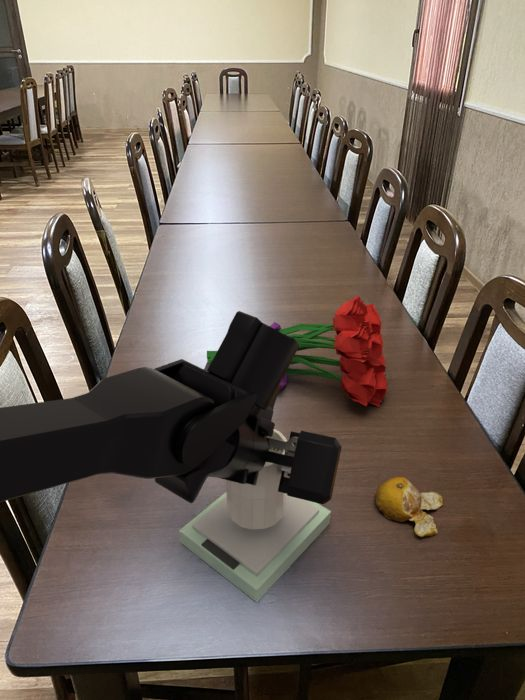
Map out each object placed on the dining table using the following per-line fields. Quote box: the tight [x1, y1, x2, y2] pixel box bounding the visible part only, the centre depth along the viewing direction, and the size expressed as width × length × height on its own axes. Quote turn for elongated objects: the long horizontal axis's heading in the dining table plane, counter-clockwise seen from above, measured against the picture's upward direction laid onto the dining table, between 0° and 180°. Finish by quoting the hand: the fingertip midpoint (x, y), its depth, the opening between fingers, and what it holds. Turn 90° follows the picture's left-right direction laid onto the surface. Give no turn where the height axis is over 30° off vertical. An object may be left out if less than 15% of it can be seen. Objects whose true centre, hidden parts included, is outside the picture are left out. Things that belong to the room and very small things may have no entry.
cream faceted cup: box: [225, 428, 288, 530], centre depth 61 cm, size 7×7×10 cm
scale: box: [179, 491, 332, 603], centre depth 65 cm, size 14×12×3 cm
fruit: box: [373, 476, 444, 538], centre depth 68 cm, size 8×8×4 cm
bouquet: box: [206, 294, 388, 407], centre depth 88 cm, size 20×16×30 cm
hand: (260, 456), depth 61 cm, fingers closed on cream faceted cup, 7 cm apart
